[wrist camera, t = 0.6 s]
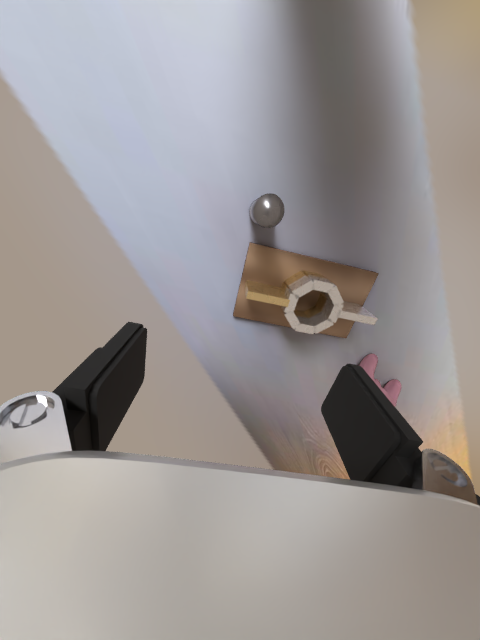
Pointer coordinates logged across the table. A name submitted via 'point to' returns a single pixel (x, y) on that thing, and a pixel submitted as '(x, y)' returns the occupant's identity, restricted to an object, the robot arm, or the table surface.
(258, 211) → the hinge pin
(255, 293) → the hinge
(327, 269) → the mounting board
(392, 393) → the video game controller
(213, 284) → the table surface
